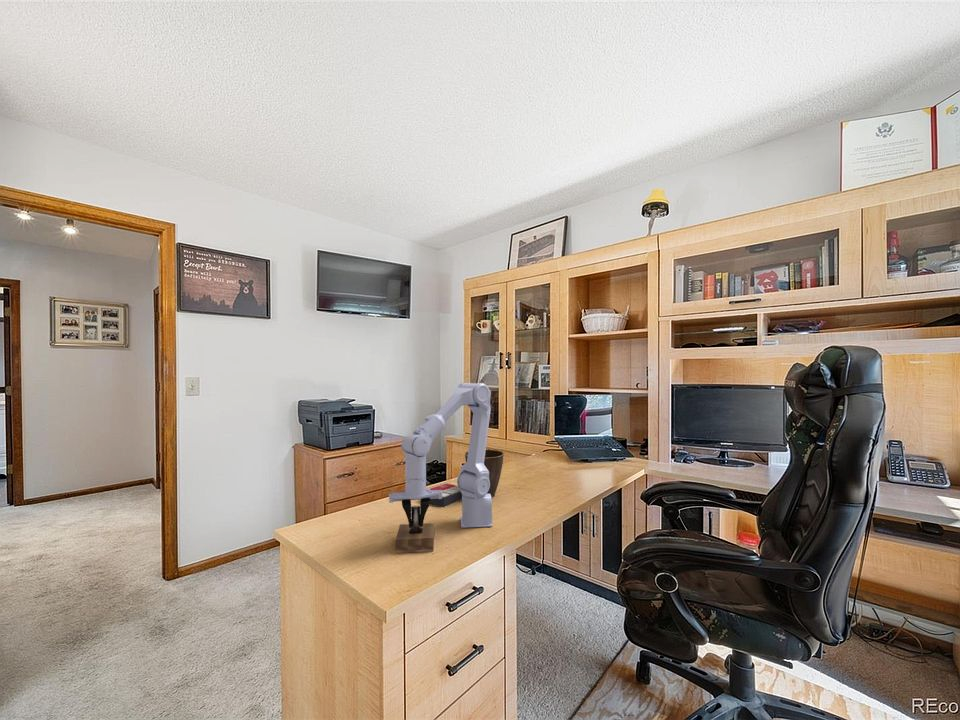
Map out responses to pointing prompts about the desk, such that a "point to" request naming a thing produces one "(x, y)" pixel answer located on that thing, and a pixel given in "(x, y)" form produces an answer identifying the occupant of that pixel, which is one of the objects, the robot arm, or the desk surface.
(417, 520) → the pin
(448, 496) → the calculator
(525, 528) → the desk surface
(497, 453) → the plant pot
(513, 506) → the desk surface
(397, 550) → the bore block
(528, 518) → the desk surface
